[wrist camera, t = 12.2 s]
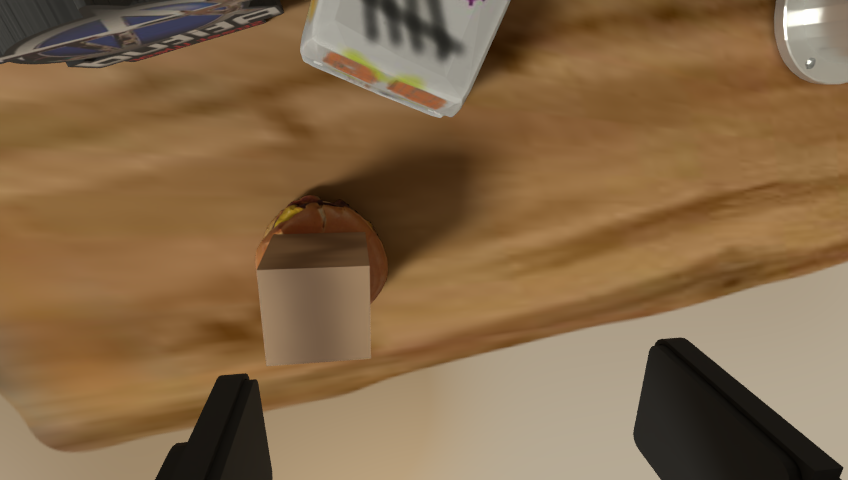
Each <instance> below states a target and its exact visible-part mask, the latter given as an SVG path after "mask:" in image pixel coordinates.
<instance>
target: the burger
mask: <svg viewBox="0 0 848 480" xmlns="http://www.w3.org/2000/svg"><path fill="white" fill-rule="evenodd" d="M346 232H365V235H366V242H367V250H368V257H369V265H370V304H371V303H372V302H373V301H374V300H375V299H376V297H377V296H378V294H379V293H380V292H381V290H382V288H383V286H384V284H385V282H386V280H387V274H388V260H387V256H386V253H385V250H384V247H383V244H382V243H381V241H380V240H379V238H378V234H376V233H375V228H374V227H373V226H372V224H371V222H369V221H367V220H366V219H364V218H363V217H362V216H361V215H359V213H358V212H357V211H354V210H353V209H352V208H351V207H350V206H349V205H348V204H346V203H345V202H344V201H342V200H338V201H336V202H335V203H331V202H327V201H322V200H320V197H317V196H314V195H308V196H304V197H301V199H300V200H297V201H293V202H291V203H290V204H289V205H288V206H287V207H286V208H285V209H284V210H282V211H280V213H279V214H278V215H277V216H276V217H275V218H274V219H273V220H272V221H271V223H270V224H269V225H268V227H267V229H266V231H265V235H264V238H263V240H262V242H261V243H260V244H259V246H258V248H257V252H256V257H255V265H256V270H257V268H258V266H259V264H260V262H261V259H262V257H263V255H264V253H265V251H266V249H267V246H268V244H269V242H270V240H271V238H272V236H273V234H309V233H346ZM256 274H257V271H256Z"/></svg>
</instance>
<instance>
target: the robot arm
mask: <svg viewBox="0 0 848 480" xmlns="http://www.w3.org/2000/svg"><path fill="white" fill-rule="evenodd" d="M774 30H775V38H776V42H777V47H778V50H779V52H780V54H781V57H782V59H783V61H784V62H785V64H786V65H787V66H788V68H789V69H790V70H791V71H792V72H793V73H794V74H796V75H797V76H798V77H799V78H801V79H803V80H806V81H808V82H811V83H817V84H843V83H847V82H848V0H776V6H775V14H774ZM633 435H634V440H635V443H636V446H637V447H638V449H639V450H640V452H641V453H642V454H643V456H644V457H645V458H646V460H647V461H648V463H649V464H650V465H651V467H652V468H653V469H654V471H655V472H656V473H657V475H658V476H659V477H660V479H661V480H841V479H840V478H839V477H840V475H841V472H842V470H843V467H842V466H841V465H840V464H838V463H837V462H836V461H835V460H833V459H832V458H831V457H830V456H829V455H827V454H826V453H825V452H824V451H822V450H821V449H820V448H819V447H818V446H816V445H815V444H814V443H813V442H812V441H810V440H809V439H808V438H807V437H805V436H804V435H803V434H802V433H800V432H799V431H798V430H797V429H795V428H794V427H793V426H792V425H791V424H790V423H788V422H787V421H786V420H785V419H783V418H782V417H781V416H780V415H779V414H777V413H776V412H775V411H774V410H772V409H771V408H770V407H769V406H768V405H766V404H765V403H764V402H763V401H761V400H760V399H759V398H758V397H756V396H755V395H754V394H753V393H752V392H750V391H749V390H748V389H747V388H746V387H744V386H743V385H742V384H741V383H739V382H738V381H737V380H736V379H734V378H733V377H732V376H731V375H730V374H728V373H727V372H726V371H725V370H723V369H722V368H721V367H720V366H719V365H717V364H716V363H715V362H714V361H713V360H711V359H710V358H709V357H707V356H706V355H705V354H704V353H703V352H701V351H700V350H699V349H698V348H697V347H695V346H694V345H693V344H692V343H691V342H689V341H688V340H686V339H685V338H670V339H660V340H658V341H657V342H656V343H655V346H652V347H651V349H650V351H649V355H648V361H647V365H646V370H645V375H644V381H643V386H642V391H641V396H640V401H639V406H638V411H637V416H636V421H635V427H634V433H633ZM155 480H272V467H271V461H270V455H269V448H268V442H267V436H266V430H265V423H264V417H263V411H262V404H261V398H260V392H259V386H258V382H257V380H256V379H254V380H249V376H248V374H246V373H245V374H233V375H221V376H219V377H218V379H217V380H216V382H215V385H214V387H213V389H212V391H211V393H210V395H209V398H208V400H207V402H206V404H205V406H204V408H203V410H202V413H201V415H200V417H199V419H198V421H197V423H196V425H195V428H194V430H193V432H192V434H191V436H190V438H189V441H188V442H184V443H176V444H175V445H174V446H173V447H172V448H171V450H170V451H169V453H168V455H167V457H166V459H165V461H164V463H163V465H162V467H161V469H160V471H159V473H158V475H157V477H156V479H155Z"/></svg>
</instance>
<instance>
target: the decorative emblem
mask: <svg viewBox="0 0 848 480" xmlns="http://www.w3.org/2000/svg"><path fill="white" fill-rule="evenodd" d="M283 13H284V11H283V8H282V5H281V2H280V0H0V64H3V63H6V62H13V63H18V64H49V63H61V62H66V64H67V66H68V67H83V68H103V67H106V66H110V65H113V64H116V63H120V62H123V61H129V62H136V61H139V60H143V59H146V58H149V57H153V56H156V55H160V54H163V53H166V52H170V51H173V50H176V49H180V48H183V47H186V46H190V45H193V44H196V43H200V42H203V41H206V40H210V39H213V38H216V37H220V36H223V35H227V34H230V33H233V32H237V31H240V30H243V29H247V28H250V27H253V26H257V25H260V24H263V23H266V20H265V19H267V18H271V17H274V16H278V15H281V14H283Z"/></svg>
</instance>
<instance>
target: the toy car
mask: <svg viewBox="0 0 848 480" xmlns="http://www.w3.org/2000/svg"><path fill="white" fill-rule="evenodd" d="M510 1H511V0H311V3H310V7H309V11H308V15H307V19H306V23H305V27H304V31H303V35H302V39H301V47H300V52H301V55H302V58H303V61H304V62H306V63H308V64H310V65H312V66H313V67H316V68H318V69H320V70H323V71H325V72H327V73H330V74H332V75H334V76H337V77H339V78H341V79H344V80H346V81H348V82H351V83H353V84H355V85H358V86H360V87H362V88H365V89H367V90H369V91H372V92H374V93H376V94H379V95H381V96H384V97H386V98H389V99H391V100H394V101H396V102H399V103H401V104H404V105H406V106H409V107H411V108H414V109H416V110H419V111H421V112H424V113H426V114H429V115H431V116H435V117H438V118H441V117H442V116H444V115H446V116H449V117H453V116H454V115H455V114H456V113H457V112H458V111H459V110H460V109H461V107H462V106H463V104H464V102H465V100H466V98H467V96H468V95H469V93H470V91H471V88H472V86H473V84H474V82H475V79H476V77H477V75H478V73H479V70H480V68H481V66H482V64H483V61H484V59H485V57H486V55H487V53H488V50H489V48H490V46H491V44H492V41H493V39H494V37H495V35H496V32H497V30H498V28H499V26H500V23H501V21H502V19H503V17H504V14H505V12H506V10H507V8H508V5H509V3H510Z"/></svg>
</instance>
